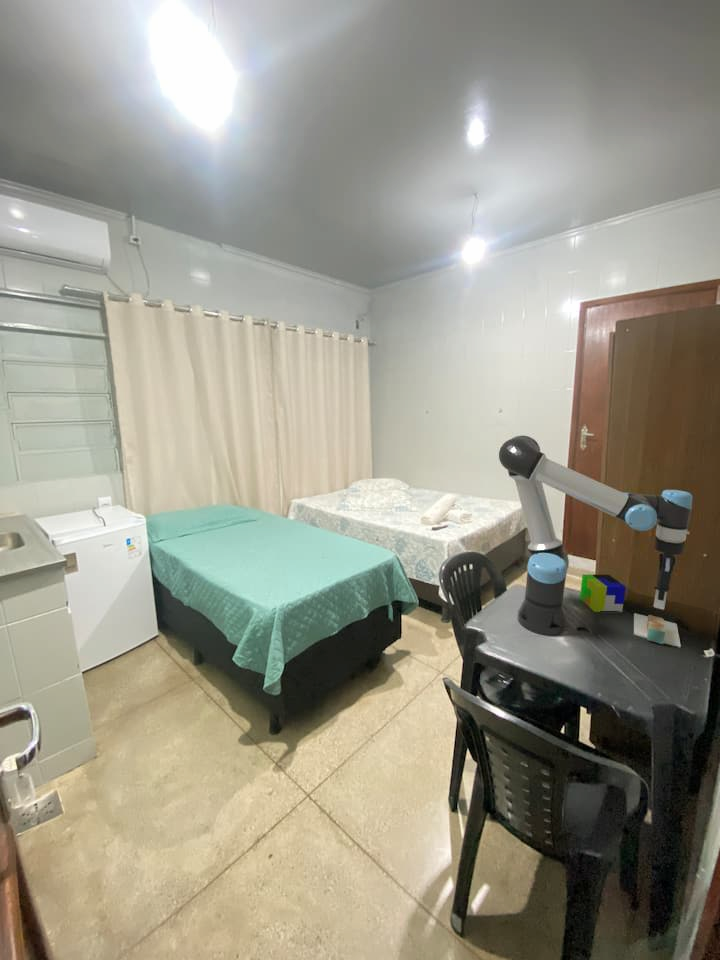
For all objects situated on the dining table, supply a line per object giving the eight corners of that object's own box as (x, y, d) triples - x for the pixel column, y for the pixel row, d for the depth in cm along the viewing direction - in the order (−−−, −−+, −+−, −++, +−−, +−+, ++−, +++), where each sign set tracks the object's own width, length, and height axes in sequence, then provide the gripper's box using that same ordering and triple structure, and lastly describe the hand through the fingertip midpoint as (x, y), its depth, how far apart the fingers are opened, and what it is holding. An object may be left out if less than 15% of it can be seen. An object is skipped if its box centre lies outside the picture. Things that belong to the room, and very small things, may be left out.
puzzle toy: (622, 612, 143) (625, 586, 141) (594, 612, 143) (597, 586, 141) (605, 598, 153) (608, 574, 151) (579, 598, 153) (582, 574, 151)
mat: (633, 634, 129) (634, 633, 129) (633, 614, 141) (634, 613, 141) (680, 647, 122) (680, 645, 122) (676, 625, 135) (676, 623, 134)
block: (646, 625, 133) (647, 639, 125) (648, 614, 133) (649, 628, 125) (661, 629, 131) (663, 644, 123) (663, 618, 130) (665, 632, 122)
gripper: (687, 547, 117) (674, 620, 121) (683, 535, 127) (672, 602, 132) (656, 542, 121) (644, 612, 126) (654, 531, 131) (644, 596, 136)
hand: (658, 607), depth 129 cm, fingers closed
